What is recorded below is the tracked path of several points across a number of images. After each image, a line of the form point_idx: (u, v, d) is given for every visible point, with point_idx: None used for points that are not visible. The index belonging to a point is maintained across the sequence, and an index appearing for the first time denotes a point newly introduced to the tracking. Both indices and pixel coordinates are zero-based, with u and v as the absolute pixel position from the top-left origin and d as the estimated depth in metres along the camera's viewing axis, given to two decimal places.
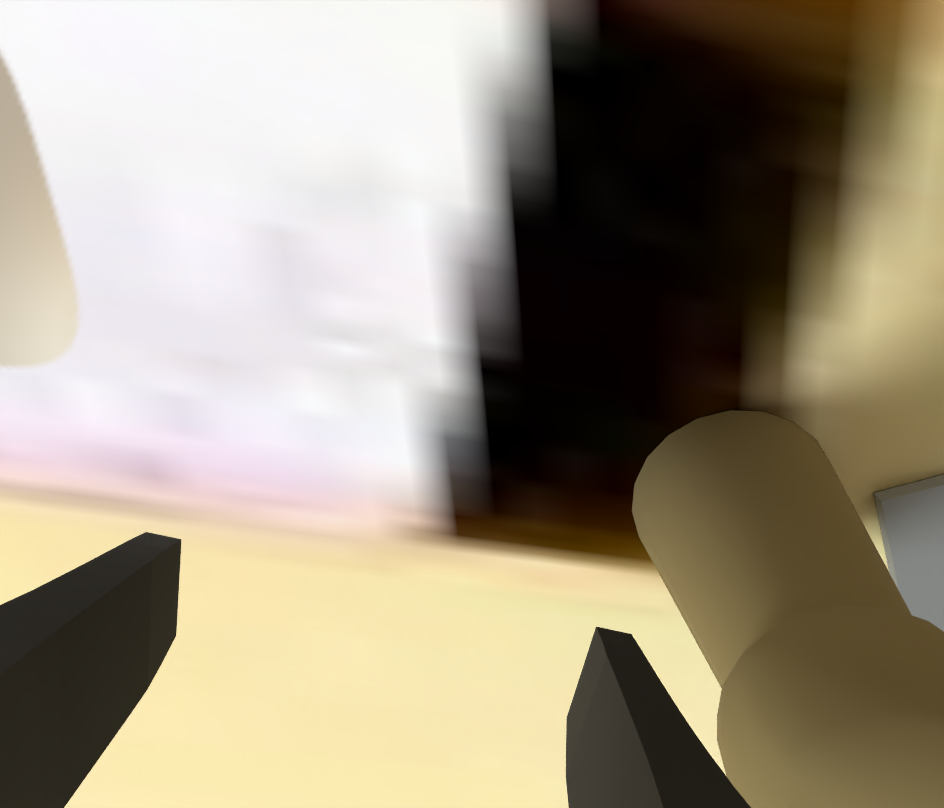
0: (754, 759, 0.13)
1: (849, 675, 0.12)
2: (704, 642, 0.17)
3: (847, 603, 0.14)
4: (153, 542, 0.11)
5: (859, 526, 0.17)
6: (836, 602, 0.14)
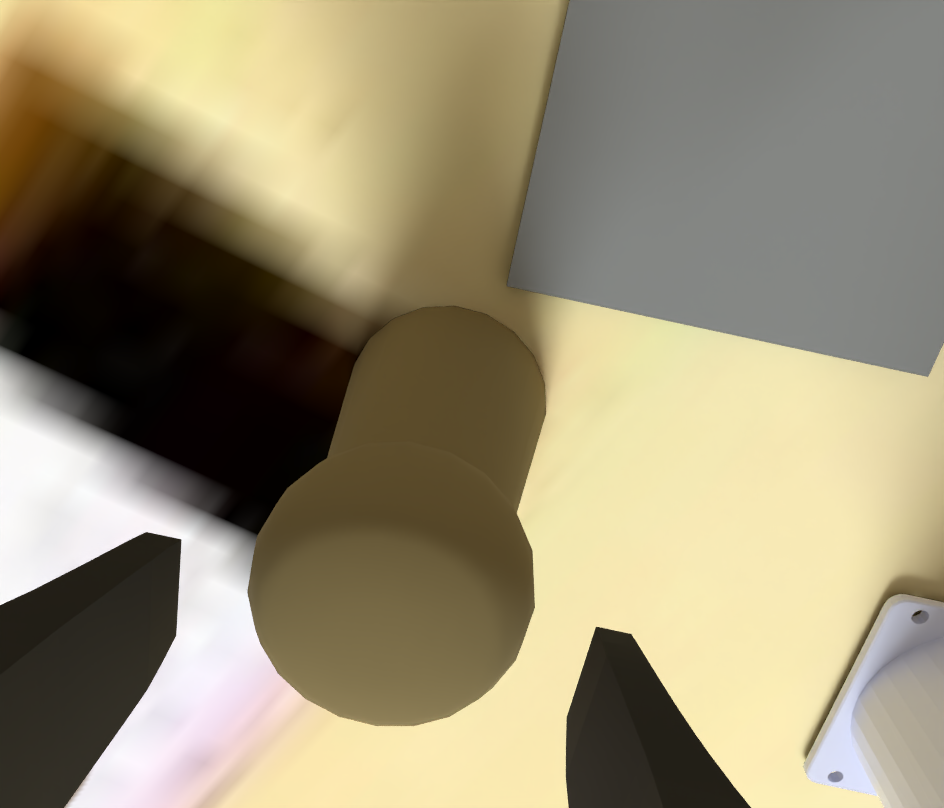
0: None
1: (249, 583, 0.13)
2: None
3: None
4: (153, 542, 0.11)
5: (396, 376, 0.17)
6: None
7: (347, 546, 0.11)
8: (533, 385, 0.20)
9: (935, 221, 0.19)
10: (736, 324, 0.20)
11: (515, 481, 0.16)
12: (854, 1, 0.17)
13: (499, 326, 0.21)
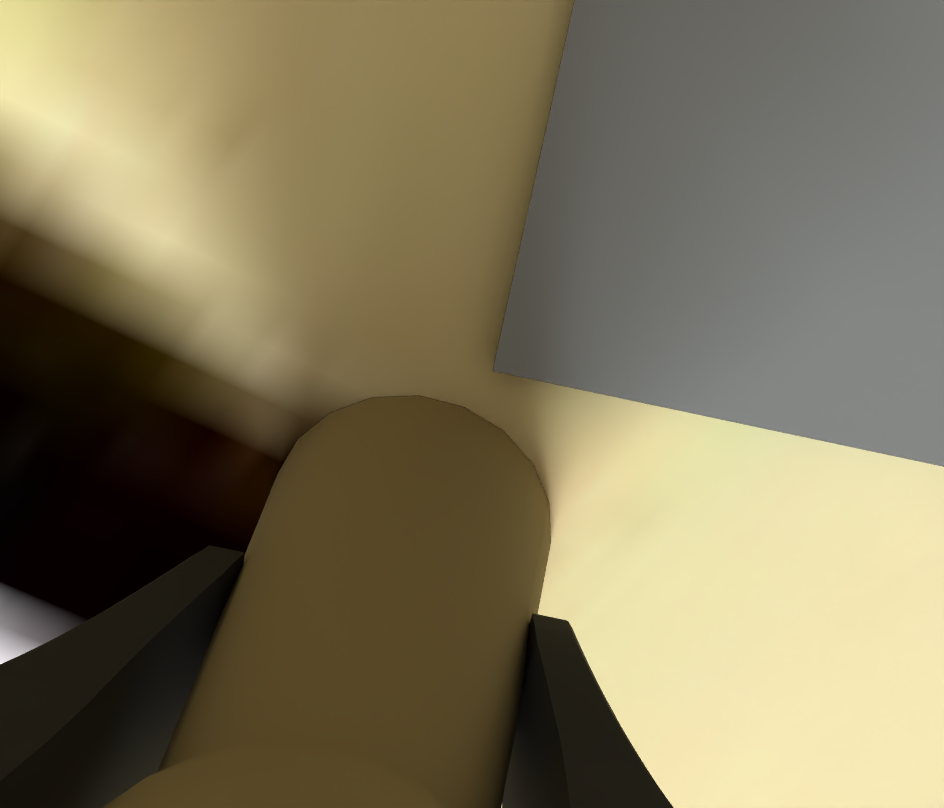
0: None
1: None
2: None
3: None
4: (219, 556, 0.11)
5: (312, 541, 0.11)
6: None
7: None
8: (533, 517, 0.14)
9: None
10: (833, 427, 0.13)
11: (502, 737, 0.09)
12: None
13: (483, 426, 0.14)
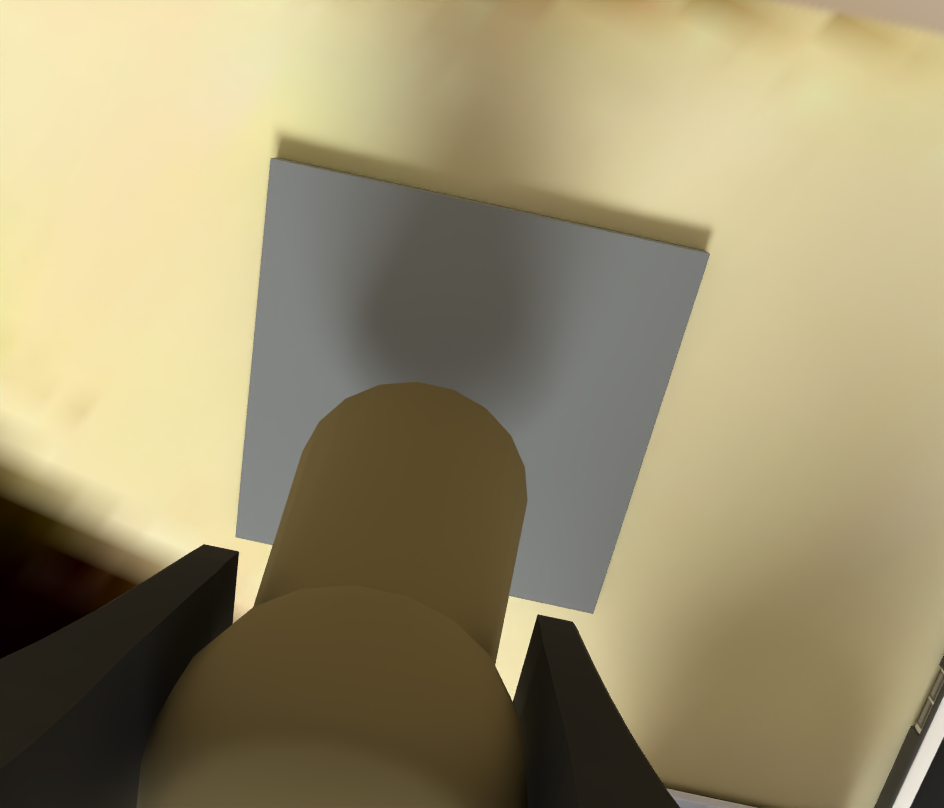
0: None
1: (137, 799, 0.09)
2: None
3: None
4: (212, 555, 0.11)
5: (345, 478, 0.14)
6: None
7: (263, 762, 0.08)
8: (512, 472, 0.17)
9: (577, 499, 0.22)
10: None
11: (495, 609, 0.13)
12: (483, 339, 0.21)
13: (469, 403, 0.18)
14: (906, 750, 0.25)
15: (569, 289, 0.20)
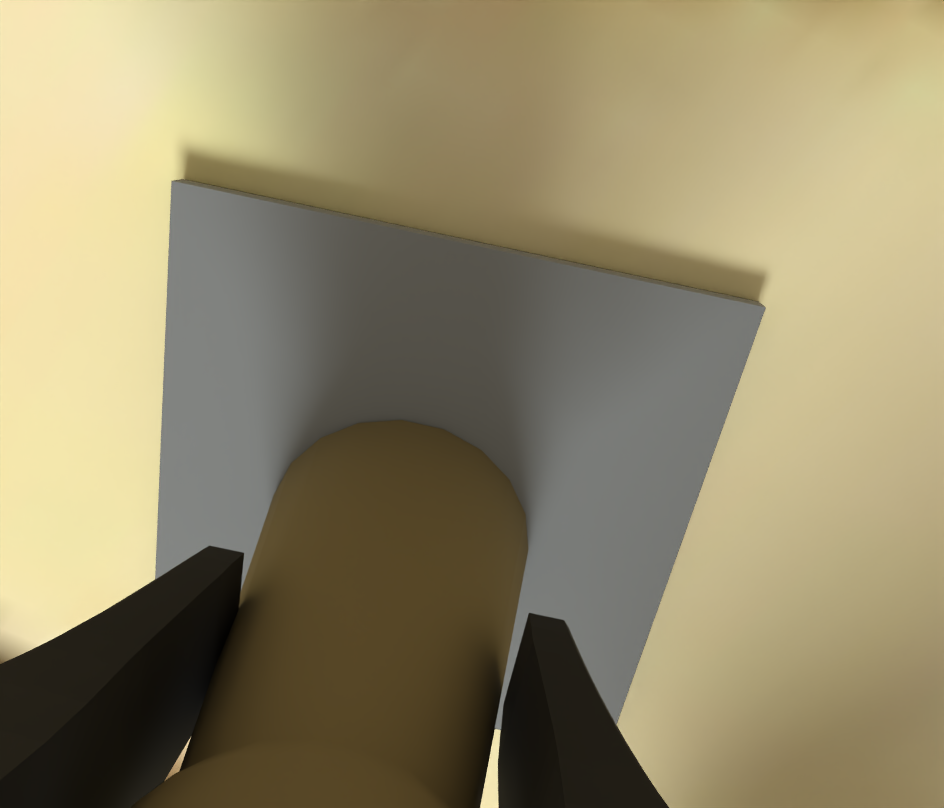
0: None
1: None
2: None
3: None
4: (218, 555, 0.11)
5: (308, 561, 0.12)
6: None
7: None
8: (509, 528, 0.15)
9: (586, 616, 0.17)
10: None
11: (482, 729, 0.11)
12: (462, 416, 0.16)
13: (461, 446, 0.15)
14: None
15: (575, 353, 0.15)
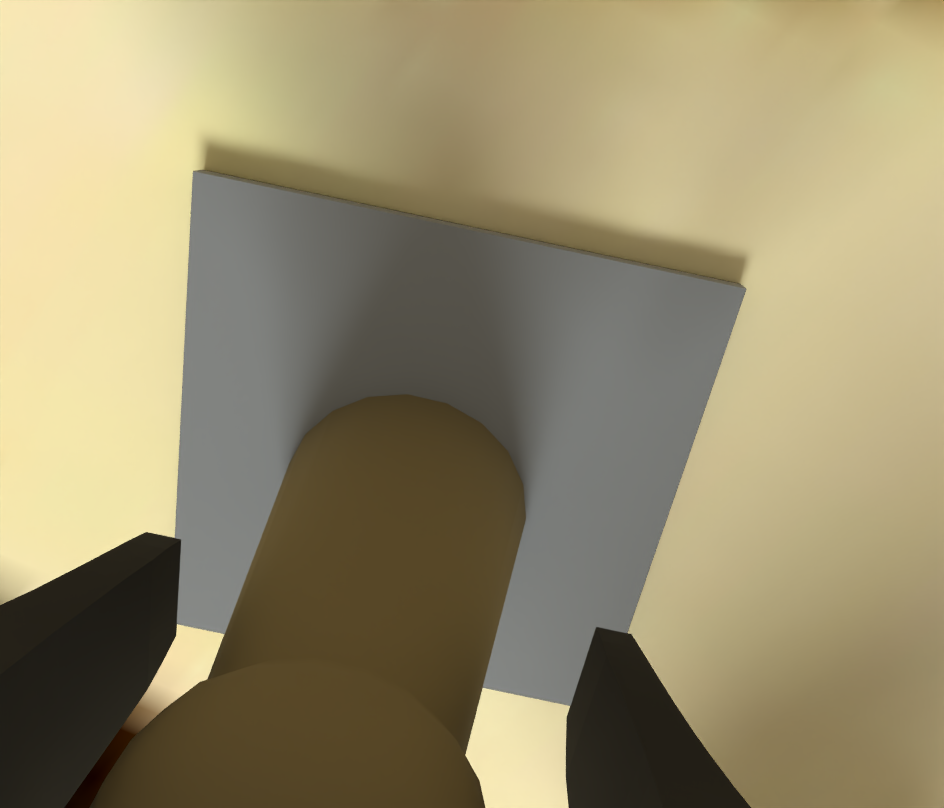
0: None
1: None
2: None
3: None
4: (153, 542, 0.11)
5: (319, 514, 0.13)
6: None
7: None
8: (506, 495, 0.16)
9: (580, 581, 0.18)
10: None
11: (475, 664, 0.12)
12: (463, 392, 0.17)
13: (463, 419, 0.17)
14: None
15: (569, 332, 0.16)
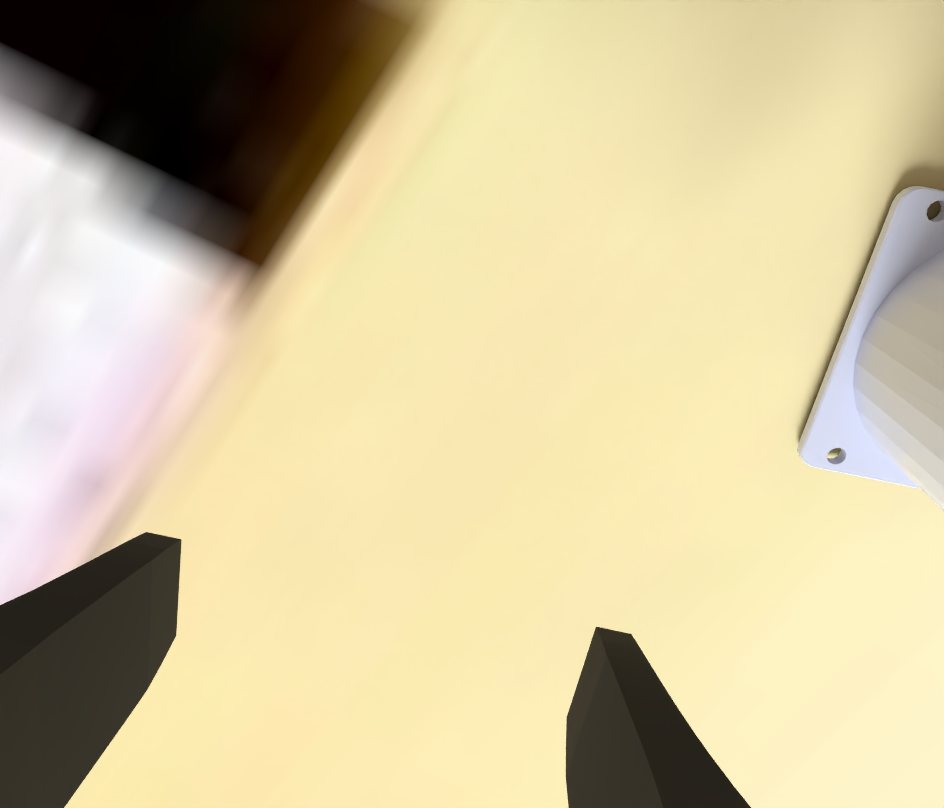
0: None
1: None
2: None
3: None
4: (153, 542, 0.11)
5: None
6: None
7: None
8: None
9: None
10: None
11: None
12: None
13: None
14: None
15: None
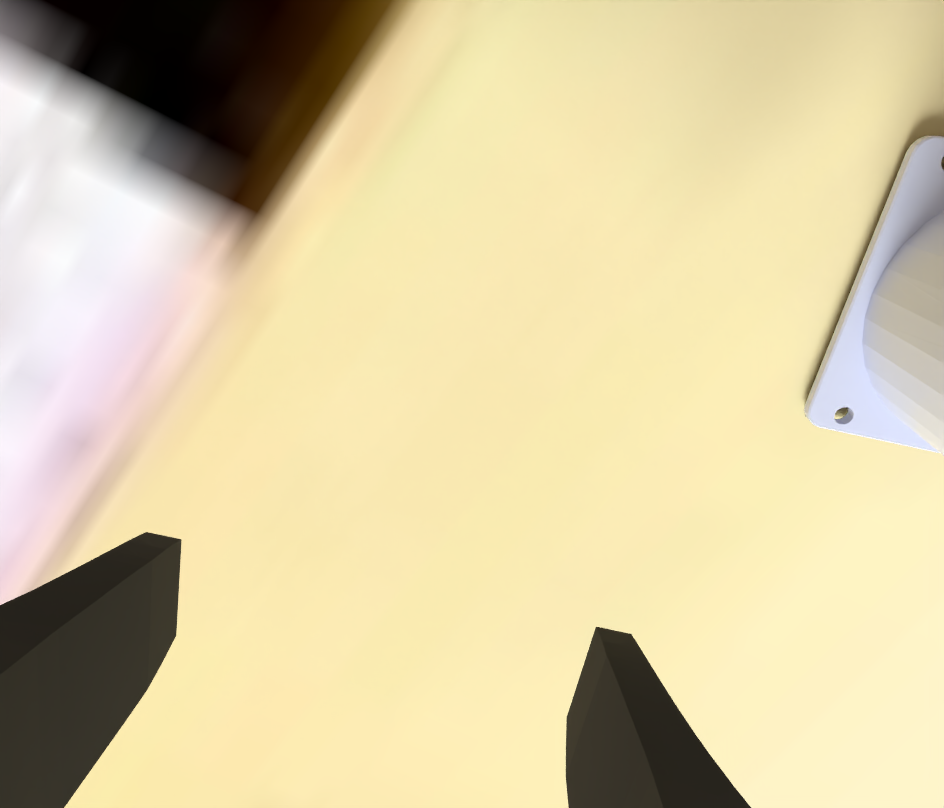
0: None
1: None
2: None
3: None
4: (153, 542, 0.11)
5: None
6: None
7: None
8: None
9: None
10: None
11: None
12: None
13: None
14: None
15: None
